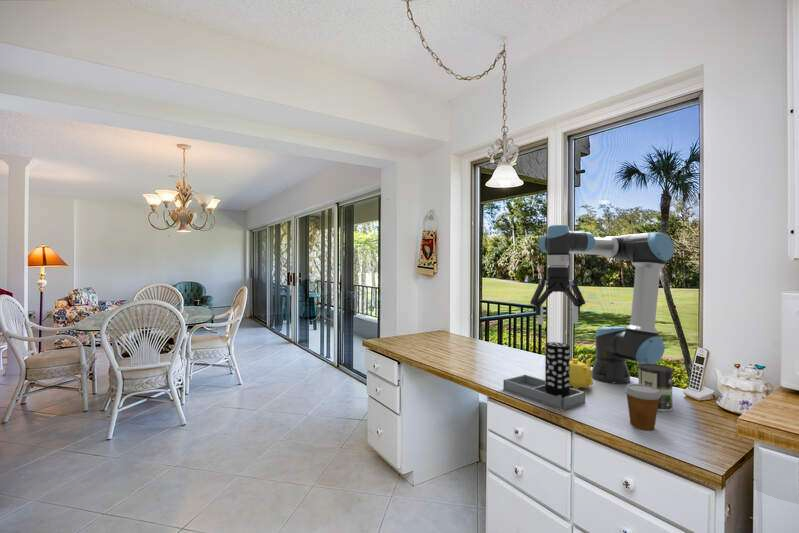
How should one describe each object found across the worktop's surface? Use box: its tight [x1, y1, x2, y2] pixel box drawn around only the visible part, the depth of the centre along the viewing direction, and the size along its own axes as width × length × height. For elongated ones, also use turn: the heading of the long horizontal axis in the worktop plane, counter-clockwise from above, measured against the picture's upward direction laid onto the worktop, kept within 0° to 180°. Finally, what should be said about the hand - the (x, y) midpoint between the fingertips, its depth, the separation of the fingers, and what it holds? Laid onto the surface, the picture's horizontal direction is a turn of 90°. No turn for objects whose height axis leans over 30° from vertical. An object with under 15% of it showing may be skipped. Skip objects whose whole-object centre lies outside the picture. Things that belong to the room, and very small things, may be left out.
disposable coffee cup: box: [624, 383, 661, 431], centre depth 118 cm, size 10×10×12 cm
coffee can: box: [637, 363, 674, 412], centre depth 135 cm, size 10×10×14 cm
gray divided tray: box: [503, 374, 586, 411], centre depth 145 cm, size 26×14×4 cm, turn 34°
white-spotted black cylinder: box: [544, 341, 571, 398], centre depth 140 cm, size 8×8×20 cm
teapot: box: [570, 357, 594, 391], centre depth 156 cm, size 20×15×12 cm
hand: (557, 323), depth 140 cm, fingers open, 13 cm apart
